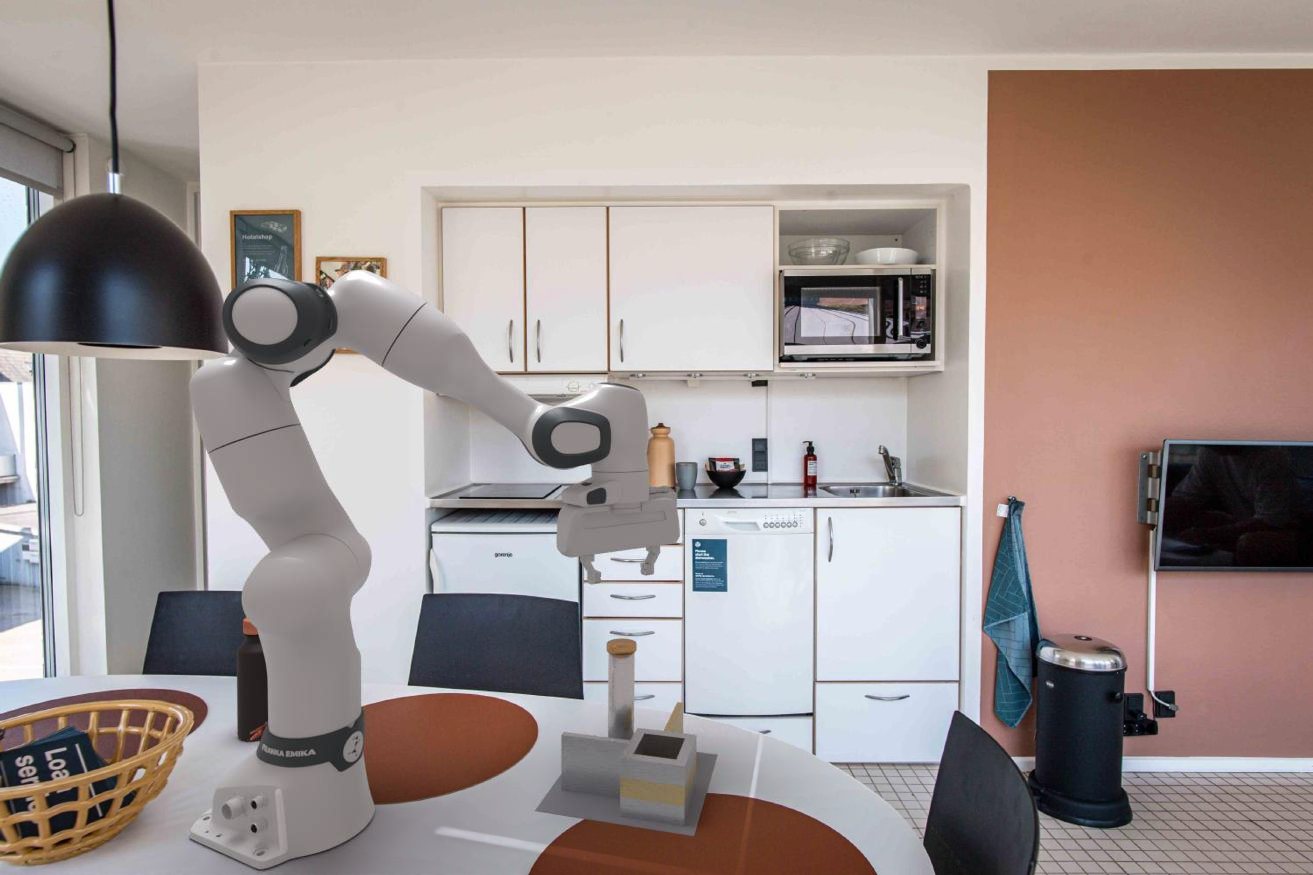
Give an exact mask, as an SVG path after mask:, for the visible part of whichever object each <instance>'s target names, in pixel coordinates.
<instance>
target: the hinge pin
mask: <svg viewBox="0 0 1313 875" xmlns="http://www.w3.org/2000/svg"><path fill="white" fill-rule="evenodd" d="M637 644H638V643H637V641H636V640H633V639H630V638H621V637H620V638H614V639H611V640H608V641H607V642H606V652H607V653H608V659H607V660H608V661H607V662H608V668H607V669H608V681H607V685H608V690H607V691H608V692H607V693H608V694H607V696H608V697H607V698H608V699H607V701H608V702H607V737H608V738H616V739H624V740H631V738H632V737H633V735H634V733H635V664H636V663H635V661H636V658H635V653H636V652H637V650H638V649H637V647H638V646H637Z"/></svg>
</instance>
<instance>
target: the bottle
mask: <svg viewBox="0 0 1313 875" xmlns="http://www.w3.org/2000/svg"><path fill="white" fill-rule="evenodd" d="M242 633H243V636H244V637H245V639H244V641H243V642H242V643H241V644H240V646H239V647H238V648H237V650H236V697H237V698H236V701H237V702H236V705H237V706H236V707H237V708H236V716H237V718H236V719H237V720H236V722H237V723H236V724H237V726H236V727H237V732H236V734H237V737H238V739H240V740H242V741H244V742H245V741H246V742H255V741H260V740H261V737H262V735H261V736H259V737H257V738H256V739H254V740H252V741H251V740H250V739H251V738H252V737H253V736H254V735H255V734H256V733H258V731H257V732H255V733H253V734H250V733H251V732H252V731H254V730H256V729H258V728H260V727H261V726H263V725H265V722H267V721H268V677H267V667H266V662H265V657H264V653H263V649H262V645H261V641H260V638H259V634H258V631H257V628H256V627H255V626H254V625H253V624H252V623H251V622H250V621H249V620H248V618H247V617H245V618H244V619H243V620H242Z"/></svg>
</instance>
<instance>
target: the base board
mask: <svg viewBox="0 0 1313 875" xmlns="http://www.w3.org/2000/svg"><path fill="white" fill-rule="evenodd" d="M717 758H718V754H717V753H716V754H715V753H707V752H700V751H696V791H695V794H694V797H693V801H692V804H691V807H690V810H689V813H688V816H687V820H686V823H685V826H677V825H671V824H665V823H658V822H652V821H646V820H639V819H633V818H626V817H620V799H618V798H611V797H604V796H598V795H591V794H584V793H578V792H571V791H564V790H561V774H560V775H559V776H558V778H557V779H556V780H555V782H554V783H553V785H552V786H551V787H550V789H549V790H548V792H546V795H545V796H544V797H543V799H542V800H541V802H539V804H538V806H537V807H536V809H534V811H535V812H539V813H543V814H544V813H545V814H551V815H552V814H553V815H557V816H563V817H564V816H565V817H568V818H569V817H570V818H577V819H582V820H589V821H595V822H601V823H606V824H607V823H608V824H614V825H620V826H626V827H627V826H628V827H632V828H640V829H645V830H646V829H647V830H653V831H657V832H663V833H664V832H665V833H669V834H678V835H683V836H687V837H688V836H689V837H695V834H696V831H697V828H698V825H699V821H700V817H701V813H702V812H703V811H702V809H703V807H704V803H705V801H706V797H707V792H708V790H709V786H710V783H711V782H710V781H711V780H712V779H711V778H712V775H713V771H714V768H715V764H716V762H717Z"/></svg>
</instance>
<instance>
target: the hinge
mask: <svg viewBox="0 0 1313 875" xmlns="http://www.w3.org/2000/svg"><path fill="white" fill-rule="evenodd" d="M560 737H561V738H560V740H561V743H560V745H561V749H560V751H561V755H560V756H561V757H560V758H561V761H560V762H561V764H560V765H561V766H560V772H561V773H560V775H561V790H564V791H571V792H578V793H584V794H591V795H598V796H604V797H611V798H618V799H620V817H626V818H633V819H639V820H646V821H652V822H658V823H665V824H671V825H677V826H685V823H686V820H687V816H688V813H689V810H690V807H691V804H692V801H693V797H694V794H695V791H696V752H697V734H691V733H684V702H681V701H679V702H678V701H677V702H676V703H675V706H674V708H673V710H672V712H671V714H670V716H669V718H668V721H667V722H666V724H665V727H664V729H663V730H660V729H659V730H658V729H652V728H651V729H649V728H642V727H637V728H636V730H634V735H633V737H632V738H631V740H624V739H616V738H608V736H598V735H592V734H583V733H575V732H568V731H563V732H562V734H561V736H560Z"/></svg>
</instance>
